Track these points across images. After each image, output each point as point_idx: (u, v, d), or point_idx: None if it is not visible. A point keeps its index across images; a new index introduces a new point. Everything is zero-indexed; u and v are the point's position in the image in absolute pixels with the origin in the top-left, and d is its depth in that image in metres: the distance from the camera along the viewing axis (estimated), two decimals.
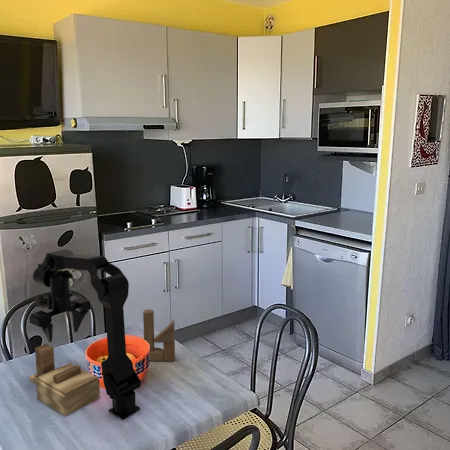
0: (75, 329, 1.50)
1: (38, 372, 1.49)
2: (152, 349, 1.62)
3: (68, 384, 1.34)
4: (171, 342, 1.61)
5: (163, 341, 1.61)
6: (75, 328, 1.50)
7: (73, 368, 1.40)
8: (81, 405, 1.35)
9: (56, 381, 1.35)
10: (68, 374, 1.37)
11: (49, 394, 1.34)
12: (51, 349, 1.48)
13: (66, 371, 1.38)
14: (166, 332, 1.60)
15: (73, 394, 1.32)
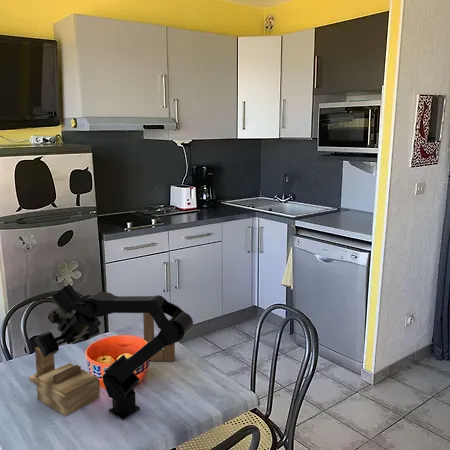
0: (72, 342, 1.45)
1: (38, 372, 1.49)
2: None
3: (68, 384, 1.34)
4: None
5: None
6: (73, 342, 1.45)
7: (73, 368, 1.40)
8: (81, 405, 1.35)
9: (56, 381, 1.35)
10: (68, 374, 1.37)
11: (49, 394, 1.34)
12: None
13: (66, 371, 1.38)
14: None
15: (73, 394, 1.32)
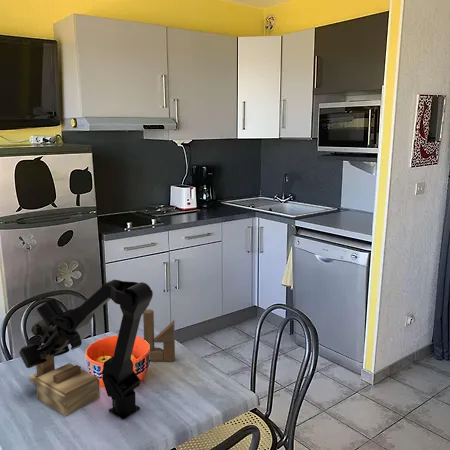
0: None
1: (38, 372, 1.48)
2: (152, 349, 1.62)
3: (68, 384, 1.34)
4: (171, 342, 1.61)
5: (163, 341, 1.61)
6: None
7: (73, 368, 1.40)
8: (81, 405, 1.35)
9: (56, 381, 1.35)
10: (68, 374, 1.37)
11: (49, 394, 1.34)
12: None
13: (66, 371, 1.38)
14: (166, 332, 1.60)
15: (73, 394, 1.32)
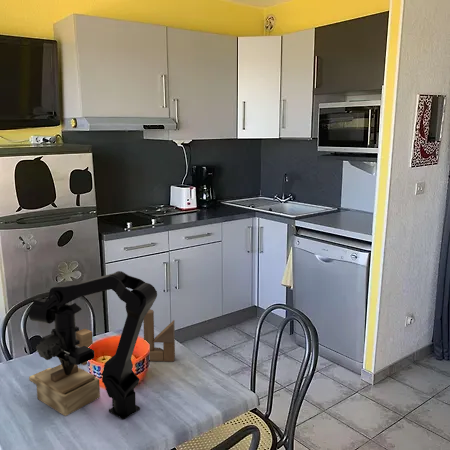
0: None
1: None
2: (152, 349, 1.62)
3: (65, 383, 1.35)
4: (171, 342, 1.61)
5: (163, 341, 1.61)
6: None
7: None
8: (81, 405, 1.35)
9: (53, 379, 1.36)
10: None
11: (49, 394, 1.34)
12: (90, 333, 1.60)
13: (63, 369, 1.39)
14: (166, 332, 1.60)
15: (73, 394, 1.32)
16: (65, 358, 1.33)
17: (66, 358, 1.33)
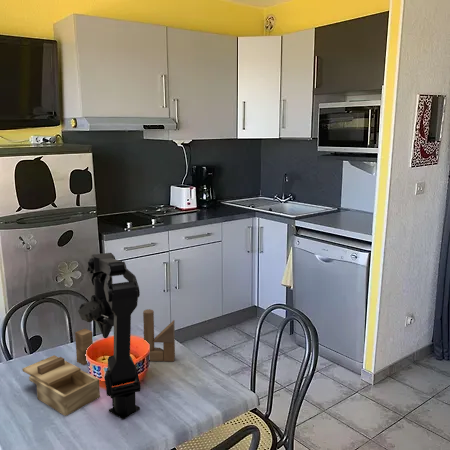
0: None
1: (78, 354, 1.60)
2: (152, 349, 1.62)
3: (52, 375, 1.39)
4: (171, 342, 1.61)
5: (163, 341, 1.61)
6: None
7: (57, 359, 1.45)
8: (81, 405, 1.35)
9: (40, 372, 1.40)
10: (52, 365, 1.42)
11: (49, 394, 1.34)
12: (90, 333, 1.60)
13: (50, 362, 1.43)
14: (166, 332, 1.60)
15: (73, 394, 1.32)
16: (104, 321, 1.46)
17: (105, 321, 1.46)
